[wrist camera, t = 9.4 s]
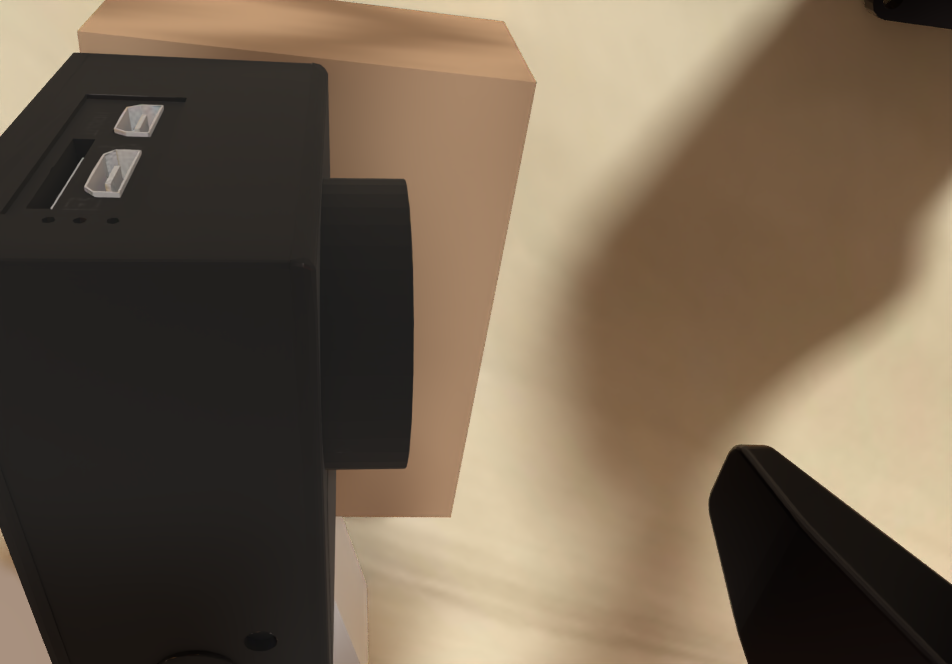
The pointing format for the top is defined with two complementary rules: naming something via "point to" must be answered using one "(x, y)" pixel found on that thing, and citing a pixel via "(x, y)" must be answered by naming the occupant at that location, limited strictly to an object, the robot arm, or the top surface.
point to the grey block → (349, 602)
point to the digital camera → (191, 357)
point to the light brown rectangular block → (390, 175)
